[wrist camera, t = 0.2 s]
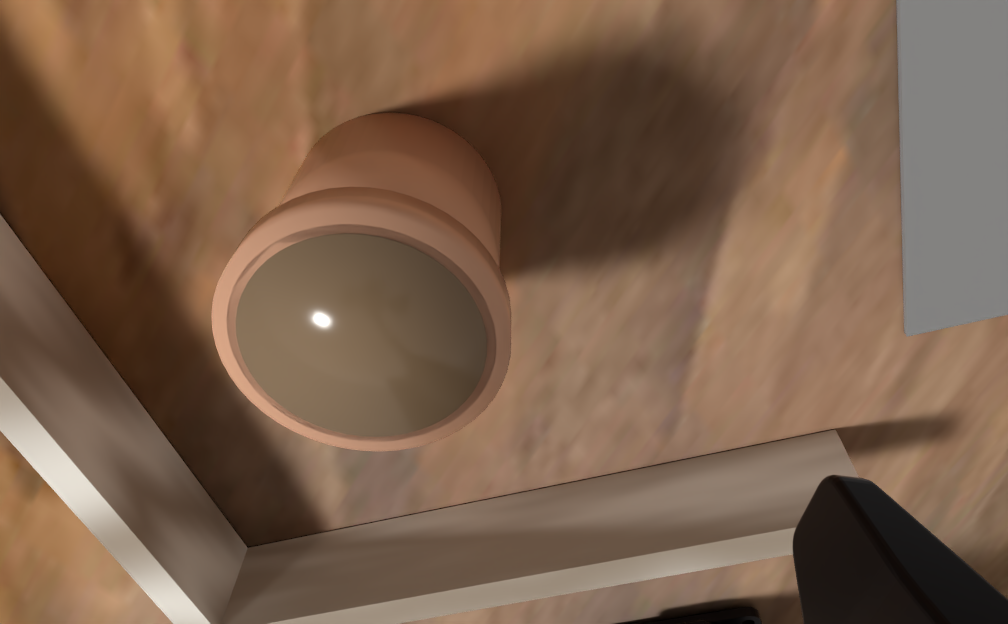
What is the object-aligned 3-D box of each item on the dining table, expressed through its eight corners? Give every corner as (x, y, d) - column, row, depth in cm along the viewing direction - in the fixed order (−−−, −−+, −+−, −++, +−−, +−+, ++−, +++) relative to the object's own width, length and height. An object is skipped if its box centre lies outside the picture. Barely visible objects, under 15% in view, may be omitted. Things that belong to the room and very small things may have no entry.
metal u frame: (837, 455, 26) (877, 539, 23) (234, 573, 30) (204, 657, 27) (738, -633, 13) (803, -756, 10) (-334, -158, 17) (-515, -145, 14)
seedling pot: (539, 277, 22) (545, 420, 17) (340, 327, 23) (292, 475, 18) (470, 69, 19) (454, 173, 14) (242, 139, 20) (151, 257, 15)
